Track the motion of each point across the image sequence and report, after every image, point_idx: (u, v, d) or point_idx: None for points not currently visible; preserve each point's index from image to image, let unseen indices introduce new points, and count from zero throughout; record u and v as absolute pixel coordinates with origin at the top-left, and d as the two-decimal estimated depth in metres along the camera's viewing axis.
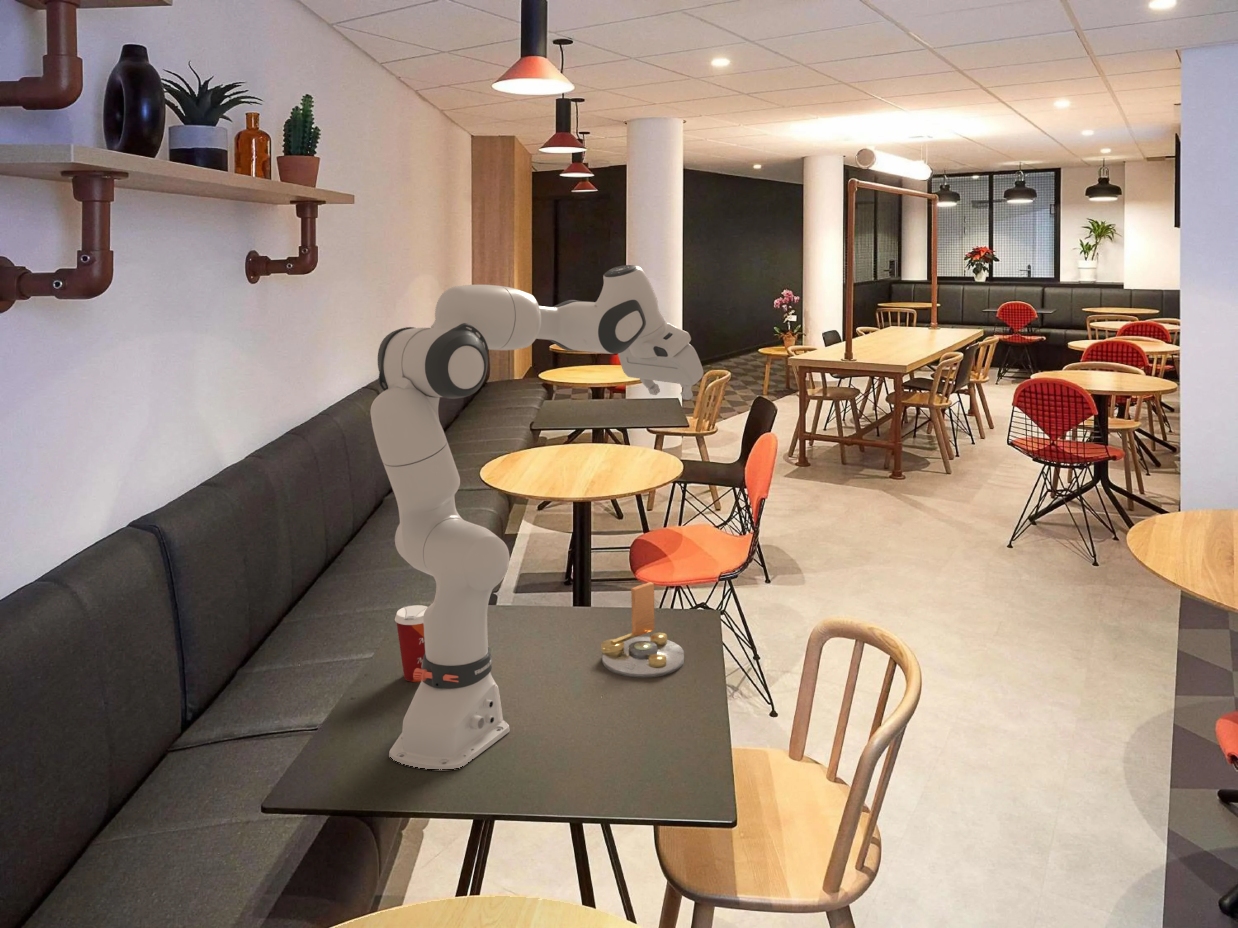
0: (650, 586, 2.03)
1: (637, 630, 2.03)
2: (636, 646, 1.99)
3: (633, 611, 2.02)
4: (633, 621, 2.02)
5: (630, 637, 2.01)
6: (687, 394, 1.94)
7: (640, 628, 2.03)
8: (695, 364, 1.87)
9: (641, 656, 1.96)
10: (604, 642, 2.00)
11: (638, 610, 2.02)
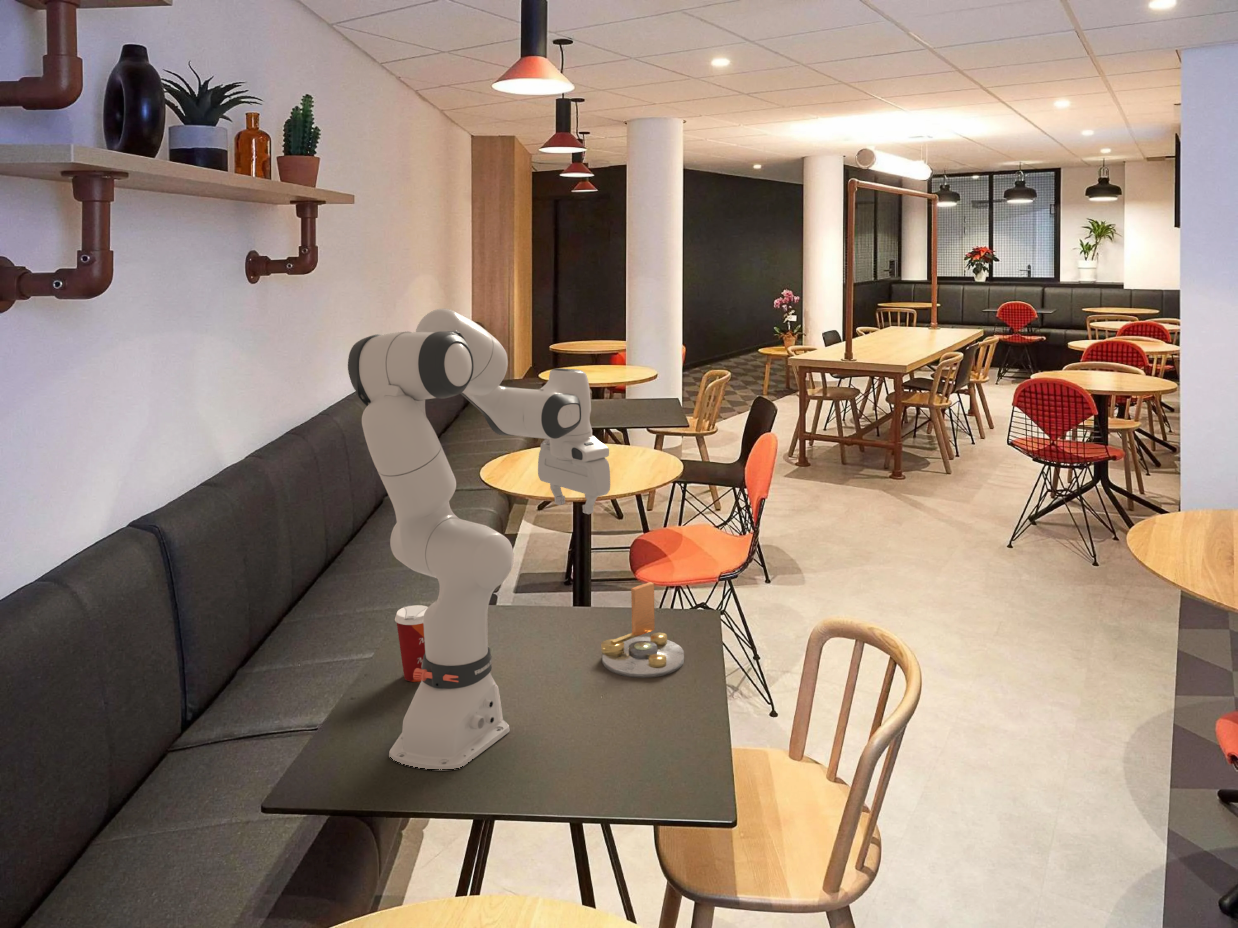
0: (650, 586, 2.03)
1: (637, 630, 2.03)
2: (636, 646, 1.99)
3: (633, 611, 2.02)
4: (633, 621, 2.02)
5: (630, 637, 2.01)
6: (588, 508, 1.98)
7: (640, 628, 2.03)
8: (605, 478, 1.93)
9: (641, 656, 1.96)
10: (604, 642, 2.00)
11: (638, 610, 2.02)
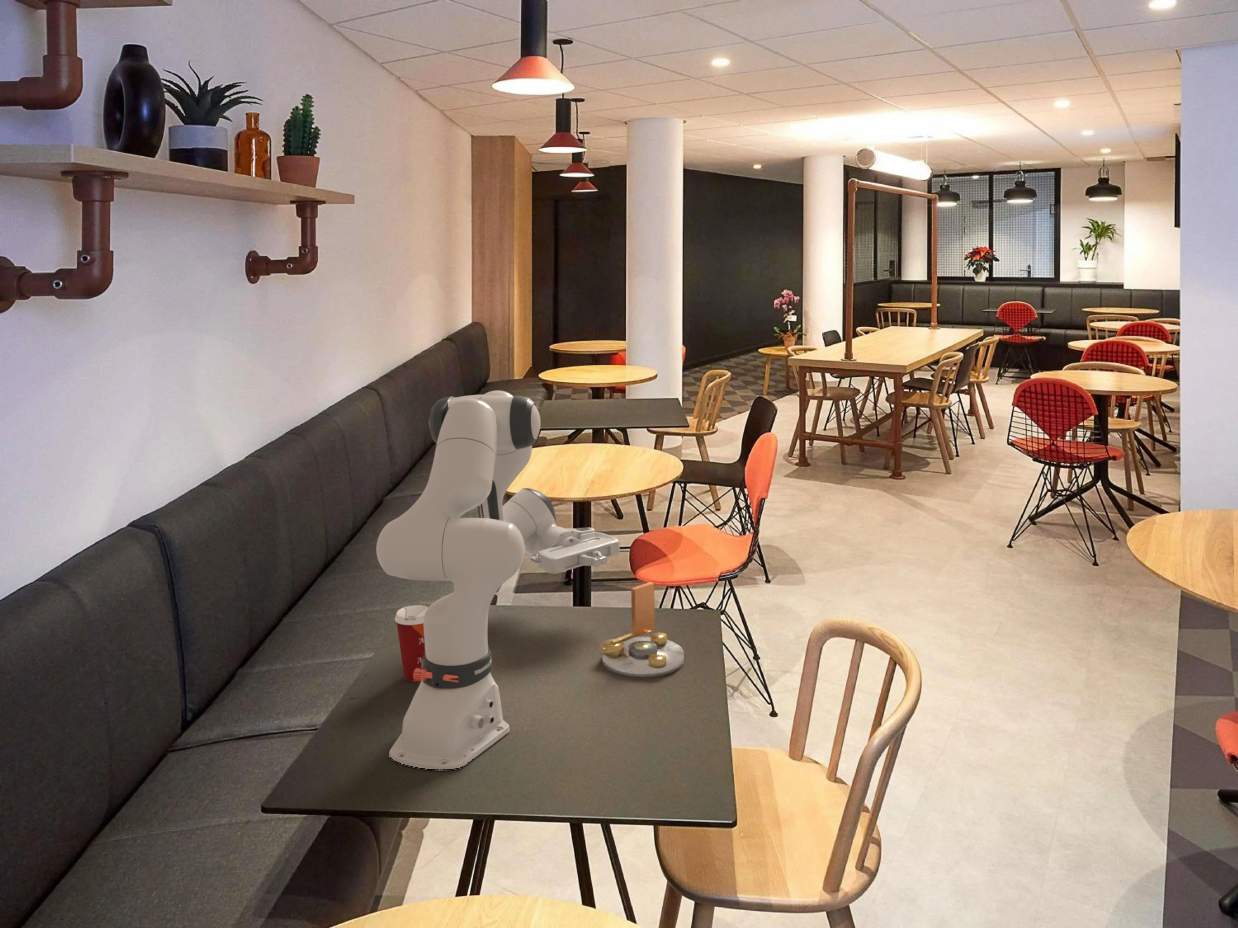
0: (650, 586, 2.03)
1: (637, 630, 2.03)
2: (636, 646, 1.99)
3: (633, 611, 2.02)
4: (633, 621, 2.02)
5: (630, 637, 2.01)
6: None
7: (640, 628, 2.03)
8: None
9: (641, 656, 1.96)
10: (604, 642, 2.00)
11: (638, 610, 2.02)
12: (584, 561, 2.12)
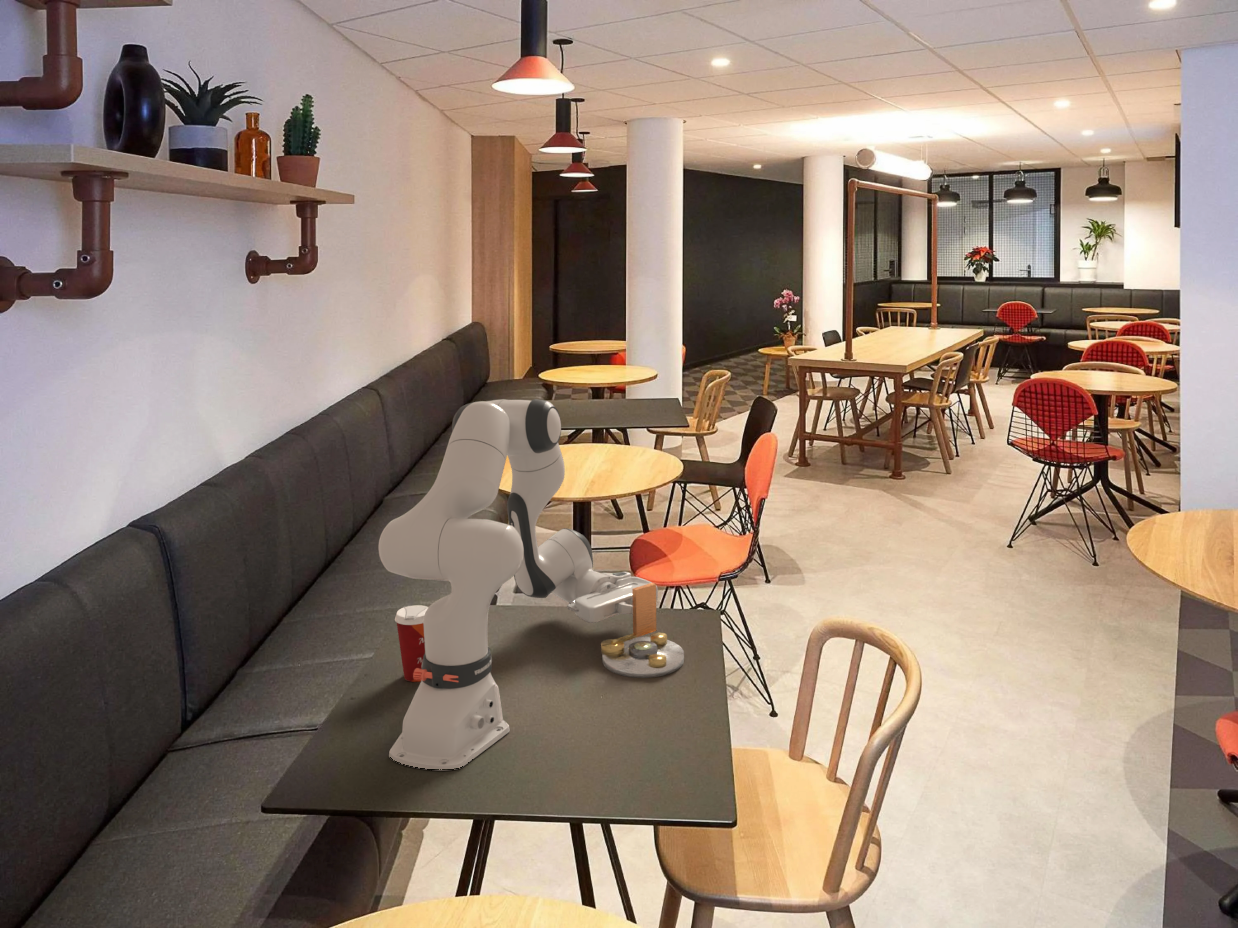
0: (652, 587, 2.03)
1: (638, 631, 2.02)
2: (636, 646, 1.99)
3: (634, 611, 2.01)
4: (634, 621, 2.02)
5: (631, 637, 2.01)
6: None
7: (641, 629, 2.03)
8: None
9: (641, 656, 1.96)
10: (604, 642, 2.00)
11: (640, 610, 2.02)
12: (623, 609, 2.04)
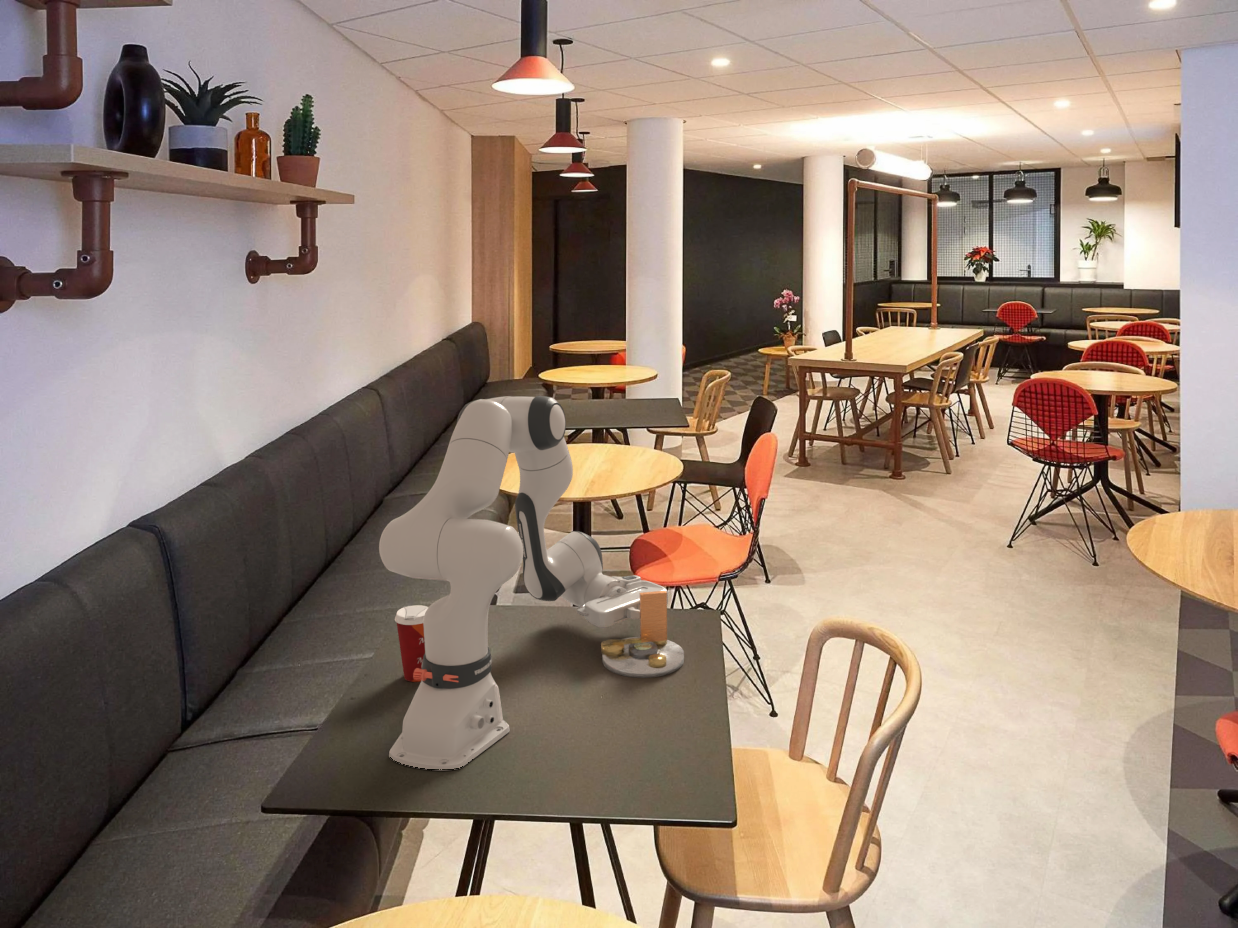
0: (661, 594, 1.98)
1: (643, 636, 1.99)
2: (636, 646, 1.99)
3: (640, 616, 1.99)
4: (640, 626, 2.00)
5: (634, 641, 1.99)
6: None
7: (647, 635, 2.00)
8: None
9: (641, 656, 1.96)
10: (607, 640, 2.01)
11: (645, 616, 1.98)
12: (632, 614, 2.02)
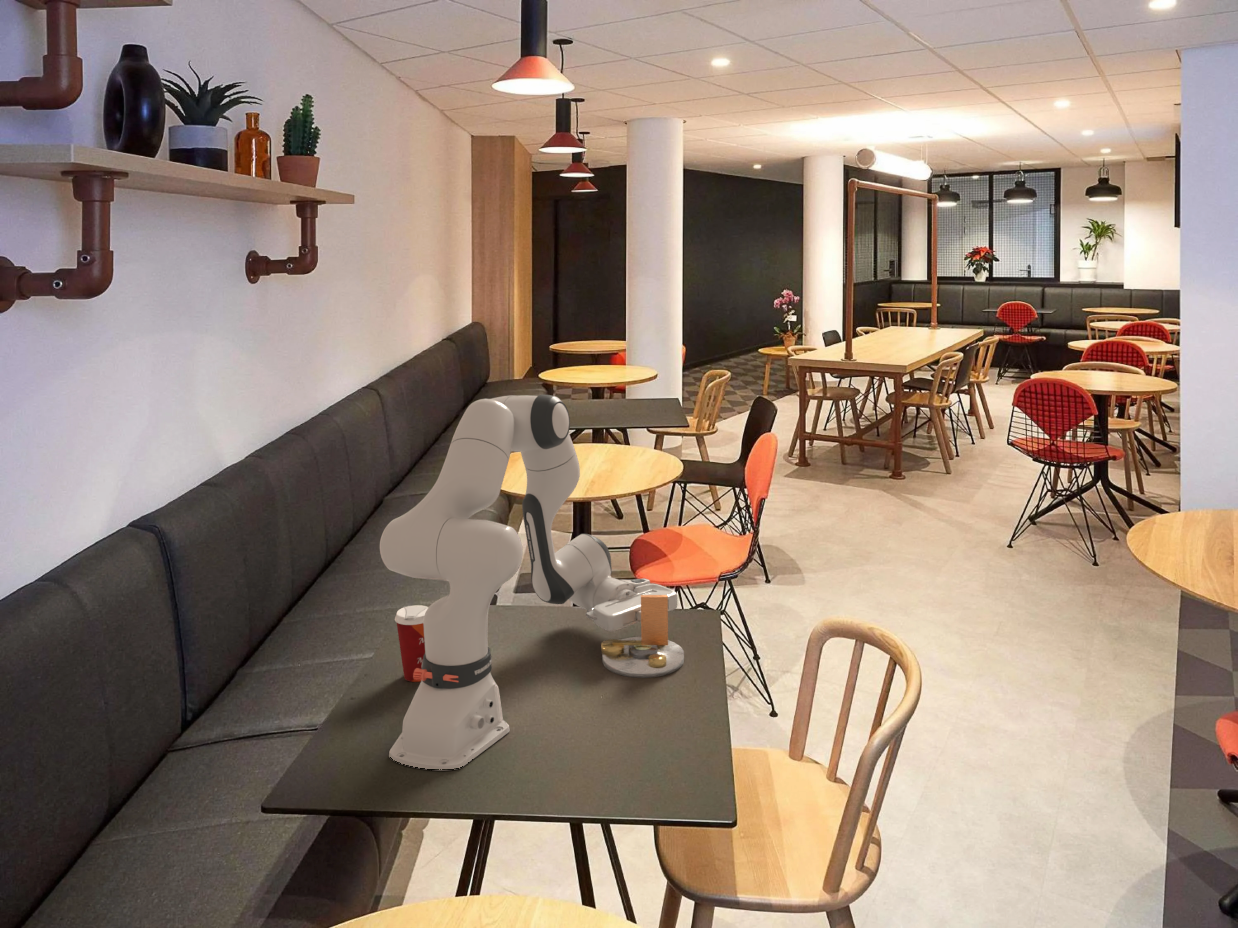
0: (662, 599, 1.96)
1: (643, 639, 1.98)
2: (636, 646, 1.99)
3: (641, 618, 1.98)
4: (641, 629, 1.98)
5: (634, 643, 1.98)
6: None
7: (647, 638, 1.98)
8: None
9: (641, 656, 1.96)
10: (609, 640, 2.01)
11: (645, 619, 1.97)
12: None
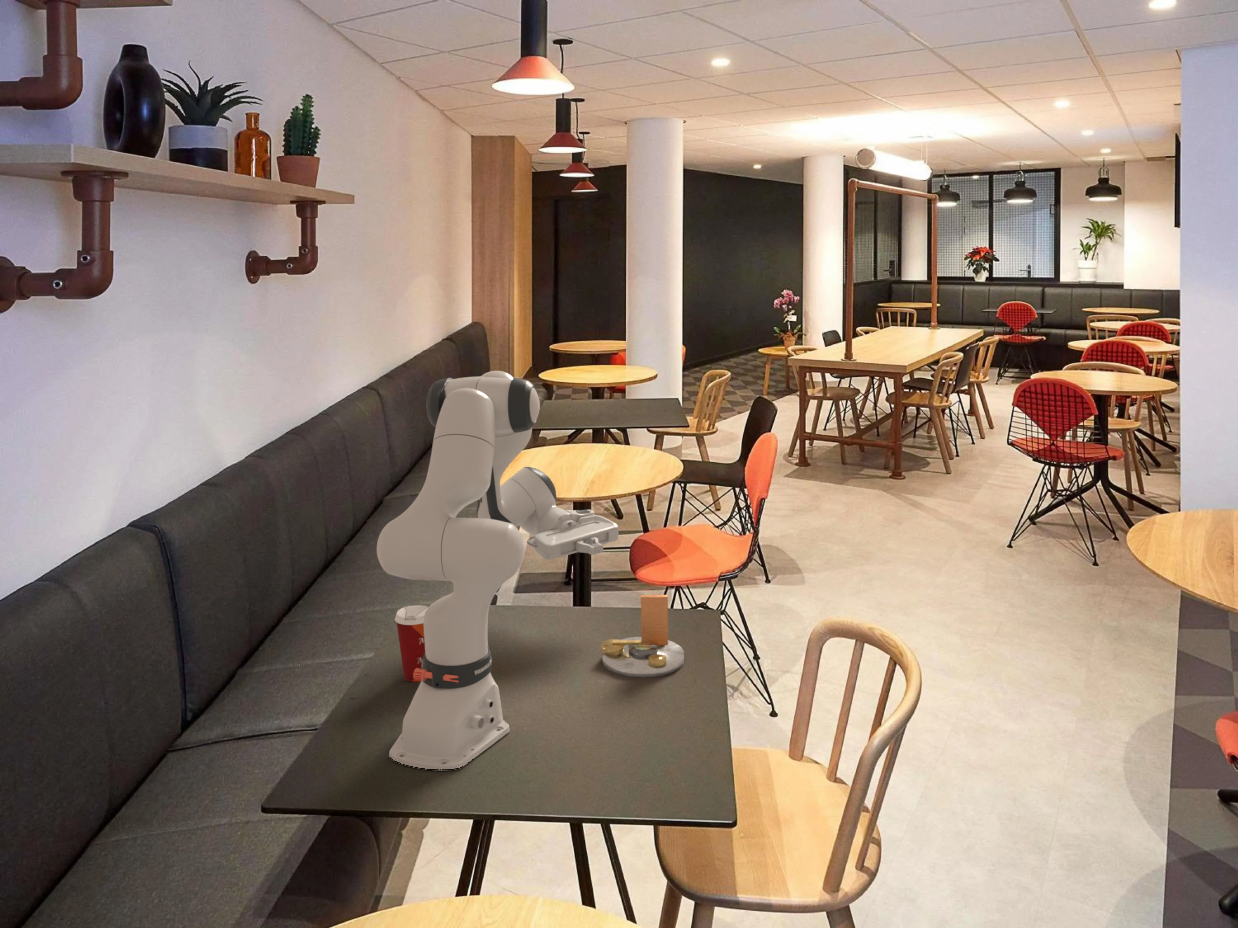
0: (662, 599, 1.96)
1: (643, 639, 1.98)
2: (636, 646, 1.99)
3: (641, 619, 1.98)
4: (641, 629, 1.98)
5: (634, 643, 1.98)
6: None
7: (647, 638, 1.98)
8: None
9: (641, 656, 1.96)
10: (609, 640, 2.01)
11: (645, 619, 1.97)
12: (580, 548, 2.10)
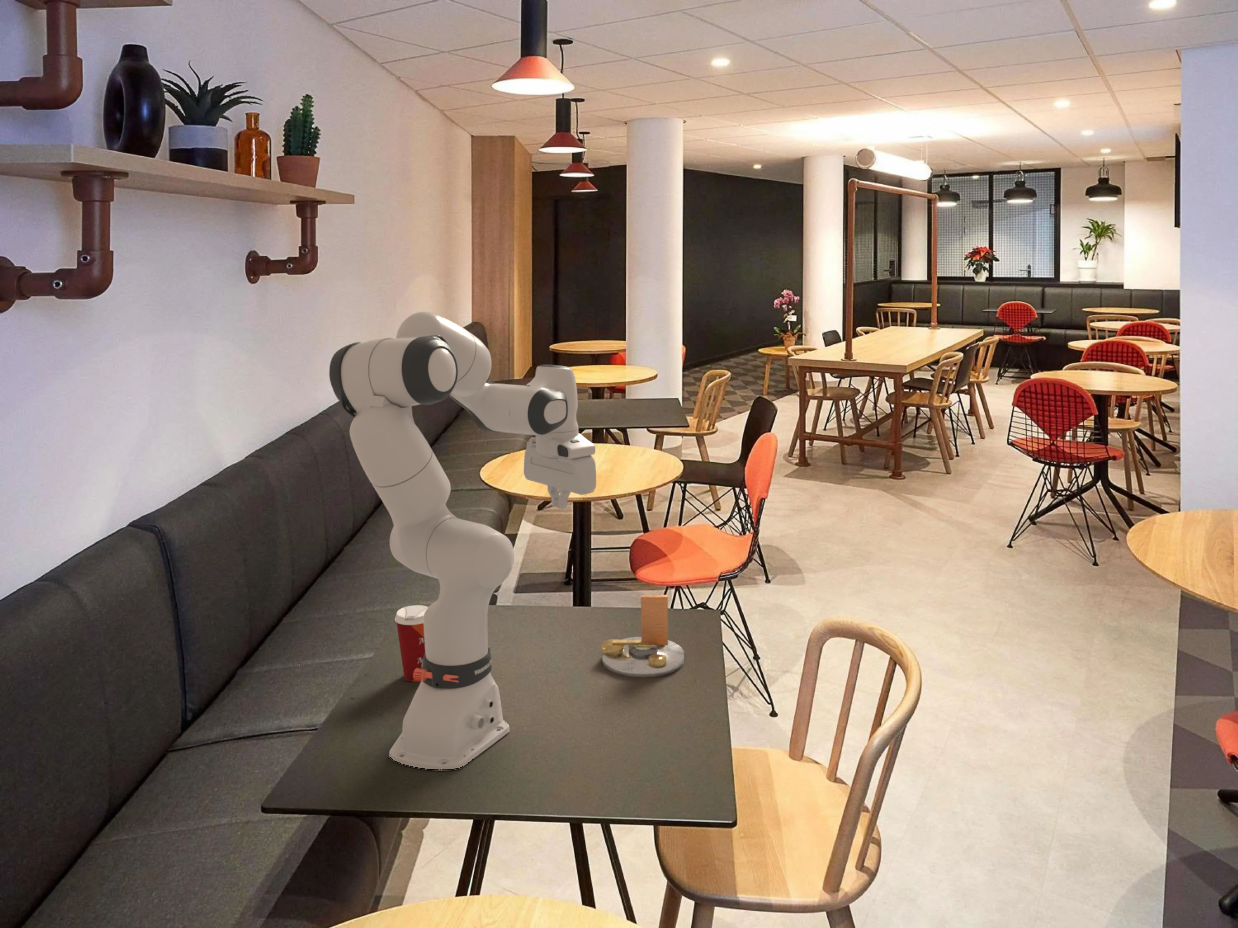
0: (662, 599, 1.96)
1: (643, 639, 1.98)
2: (636, 646, 1.99)
3: (641, 619, 1.98)
4: (641, 629, 1.98)
5: (634, 643, 1.98)
6: (561, 502, 1.98)
7: (647, 638, 1.98)
8: (591, 476, 1.91)
9: (641, 656, 1.96)
10: (609, 640, 2.01)
11: (645, 619, 1.97)
12: None
